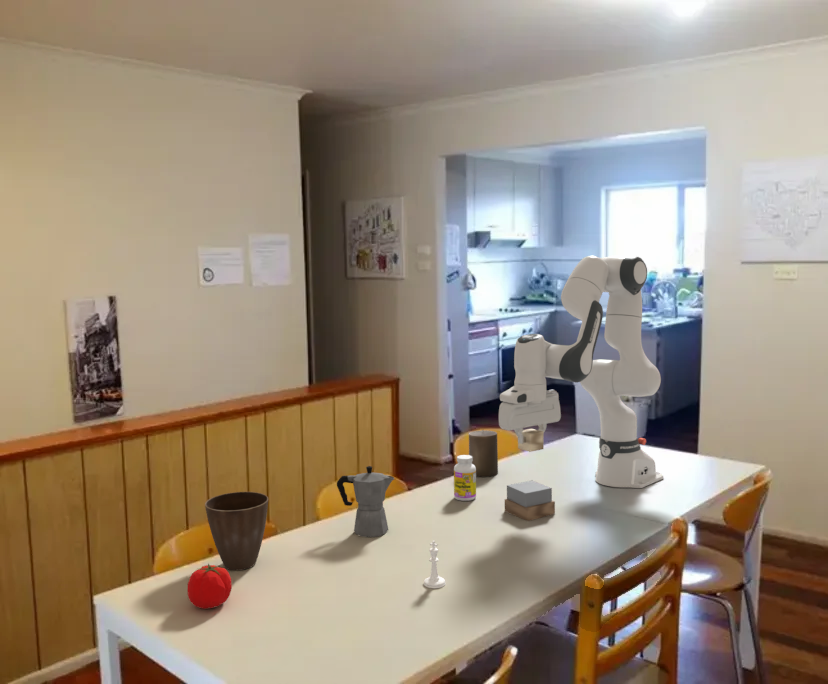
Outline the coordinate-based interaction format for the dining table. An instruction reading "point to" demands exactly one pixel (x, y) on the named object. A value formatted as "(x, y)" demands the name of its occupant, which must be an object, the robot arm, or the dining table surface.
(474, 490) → the supplement bottle
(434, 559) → the chess piece
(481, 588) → the dining table surface
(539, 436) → the birch block
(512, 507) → the tower base
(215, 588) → the tomato
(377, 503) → the coffeepot
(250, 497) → the plant pot
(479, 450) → the pillar candle
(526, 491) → the tower top
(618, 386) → the robot arm
